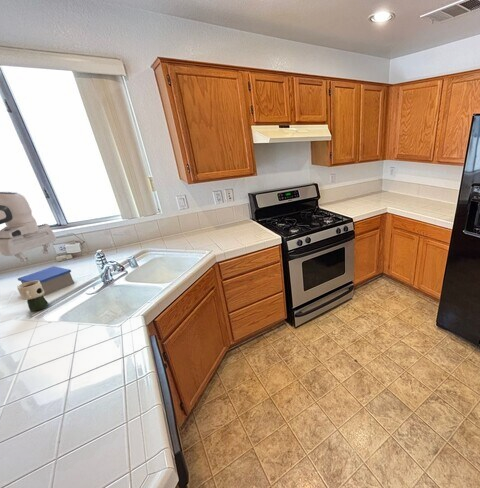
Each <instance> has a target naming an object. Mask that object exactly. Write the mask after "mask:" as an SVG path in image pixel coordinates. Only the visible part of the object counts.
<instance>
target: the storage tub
mask: <svg viewBox="0 0 480 488" xmlns="http://www.w3.org/2000/svg"><path fill="white" fill-rule="evenodd" d="M71 272H72V270H71V269H69V268H63V267H60V266H59V267H58V266H51V267H47V268H44V269H41V270H37V271H35V272H33V273H29V274H27V275H24V276H21V277H20V276H19V277H18V278H17V281H19V282H20V283H21V284H23V283H26V282H30V281H40V283H41V285H42V288H43V290H44V294H43V295H42V296H43V297H44V296H47V295H48V294H52V293H53V292H57V291H58V290H61V289H63V288H66V287H68V286H71V285H73V284H75V281H74V279H73V276H72V274H71Z"/></svg>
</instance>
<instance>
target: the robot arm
mask: <svg viewBox="0 0 480 488" xmlns="http://www.w3.org/2000/svg"><path fill="white" fill-rule="evenodd" d="M32 212H33V211H32V208H31V206H30V204H29V202H28V200H27V198H26V197H25V196H24V195H23V194H21V193H19V192H14V191H0V225H2V224H5V226H4V227H3V228H1V229H0V254H1V255H3V256H5V257H11V256H14V257H16V258H17V259H19V260H20V262H21V263H26V262H28V261H29V259H28V257H27V256H23V253H24V252H26V251H27V252H28V251H30V250H33V249H36V248H39V247H42V248H43V249H41V252H42V254H43V255H46V254H49V253H50V250H49V249H50V243H51V244H52V243H53V242H56V241H57V240H56V239H57V237H56V235H55V234H54V233H55V232H53V230H52V229H51V226H50V225H49V224H48V223H45V222H43V223H40V224H38V223H37V221H36V219H35V217H34V216H33V213H32Z"/></svg>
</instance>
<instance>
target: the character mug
mask: <svg viewBox="0 0 480 488" xmlns="http://www.w3.org/2000/svg"><path fill="white" fill-rule="evenodd" d="M16 288H17V291H18V293H19V294H20V296H21V297H20V298H22V300H24V301H26V302H27V307H28V309H29V312H34V311H40V310H44V309H45V308H47V307H49V302H48V300H47V299H46V298H45V297H44V296H42V295H43V294H44V290H43V288H42V285H41V283H40V281H30V282H26V283H23V284H22V283H21V284H18V285H17V286H16Z"/></svg>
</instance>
